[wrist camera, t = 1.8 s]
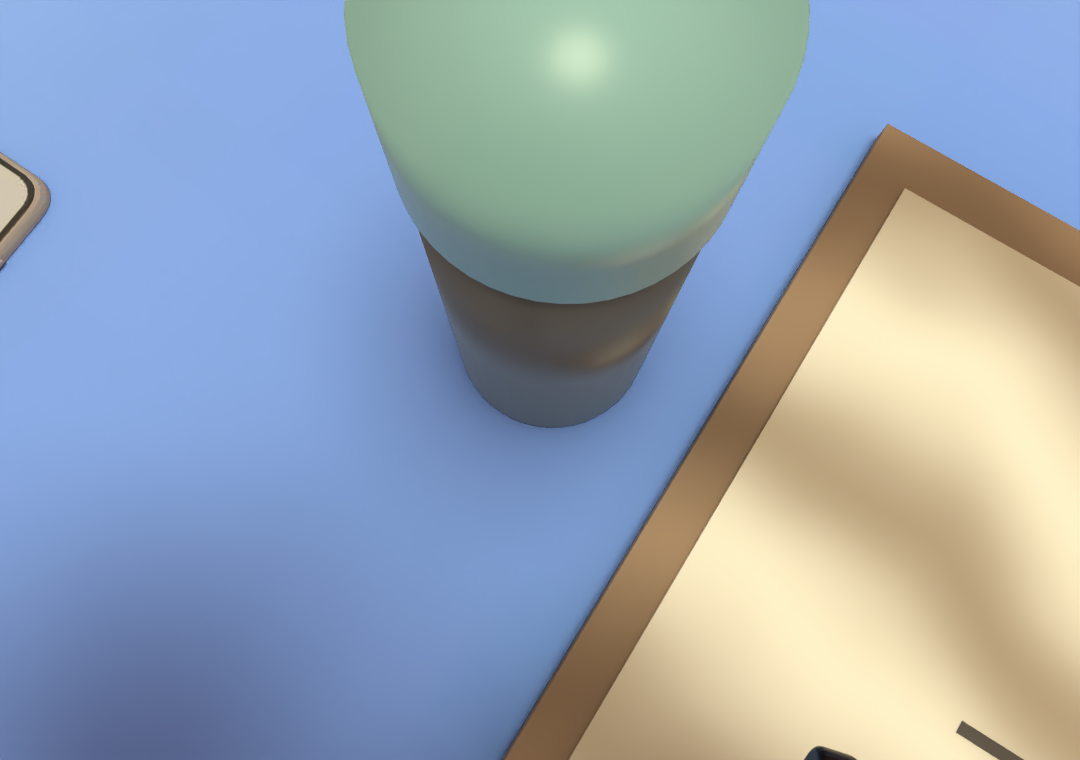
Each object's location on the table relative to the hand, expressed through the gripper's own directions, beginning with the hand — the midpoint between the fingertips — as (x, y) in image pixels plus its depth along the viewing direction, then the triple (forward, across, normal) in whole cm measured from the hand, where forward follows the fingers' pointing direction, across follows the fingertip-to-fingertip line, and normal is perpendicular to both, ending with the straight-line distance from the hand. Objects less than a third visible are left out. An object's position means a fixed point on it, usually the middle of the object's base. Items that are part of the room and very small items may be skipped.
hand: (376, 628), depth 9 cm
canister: (+14, 0, +4) cm, 15 cm away
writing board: (+12, -11, +7) cm, 17 cm away
